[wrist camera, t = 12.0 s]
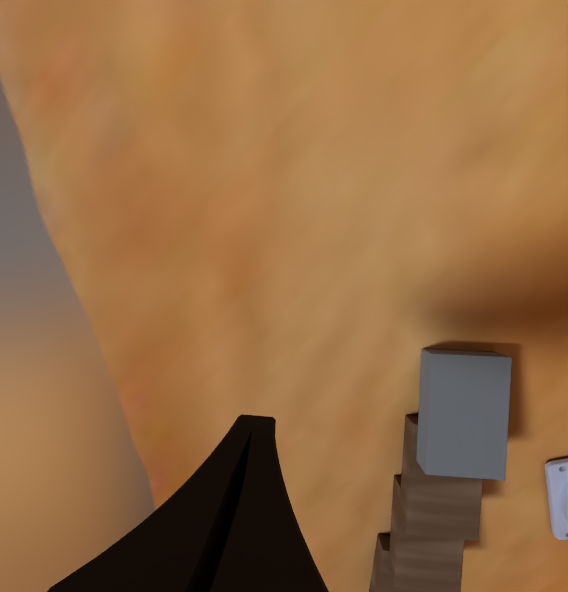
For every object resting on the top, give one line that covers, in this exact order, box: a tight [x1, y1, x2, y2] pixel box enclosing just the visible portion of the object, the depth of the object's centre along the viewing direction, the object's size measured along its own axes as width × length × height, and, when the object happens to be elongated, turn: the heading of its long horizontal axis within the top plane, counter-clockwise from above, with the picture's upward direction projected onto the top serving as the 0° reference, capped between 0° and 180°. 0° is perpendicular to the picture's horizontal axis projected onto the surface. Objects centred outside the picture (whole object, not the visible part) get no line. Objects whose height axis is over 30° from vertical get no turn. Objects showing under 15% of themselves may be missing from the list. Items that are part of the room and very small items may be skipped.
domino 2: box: [399, 415, 483, 541], centre depth 22 cm, size 2×5×8 cm
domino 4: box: [369, 534, 434, 592], centre depth 25 cm, size 2×5×8 cm
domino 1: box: [416, 349, 512, 480], centre depth 20 cm, size 2×5×8 cm
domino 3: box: [388, 475, 464, 592], centre depth 24 cm, size 2×5×8 cm
